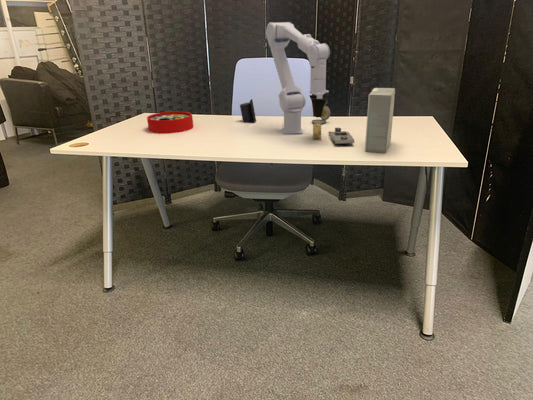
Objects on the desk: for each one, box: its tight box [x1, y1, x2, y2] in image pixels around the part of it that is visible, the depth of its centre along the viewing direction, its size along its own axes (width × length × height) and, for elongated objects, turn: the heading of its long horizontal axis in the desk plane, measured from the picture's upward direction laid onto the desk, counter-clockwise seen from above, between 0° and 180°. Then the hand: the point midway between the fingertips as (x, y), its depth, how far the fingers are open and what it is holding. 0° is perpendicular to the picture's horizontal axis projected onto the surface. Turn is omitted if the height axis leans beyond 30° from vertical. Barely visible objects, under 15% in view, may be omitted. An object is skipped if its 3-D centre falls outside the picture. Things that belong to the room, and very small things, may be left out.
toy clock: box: [146, 111, 194, 135], centre depth 178 cm, size 20×6×20 cm
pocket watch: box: [311, 102, 331, 125], centre depth 180 cm, size 8×8×10 cm
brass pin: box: [312, 123, 322, 141], centre depth 154 cm, size 3×3×6 cm
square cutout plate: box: [327, 127, 355, 147], centre depth 153 cm, size 18×7×3 cm, turn 179°
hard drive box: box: [364, 87, 396, 154], centre depth 140 cm, size 16×8×20 cm, turn 159°
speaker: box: [239, 99, 257, 124], centre depth 186 cm, size 8×6×10 cm
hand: (317, 115), depth 151 cm, fingers open, 7 cm apart
